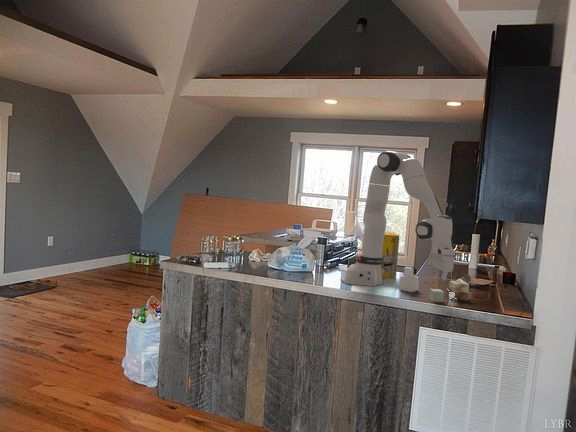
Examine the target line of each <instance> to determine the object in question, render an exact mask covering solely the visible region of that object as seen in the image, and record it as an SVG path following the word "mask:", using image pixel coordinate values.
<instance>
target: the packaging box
mask: <svg viewBox="0 0 576 432" xmlns="http://www.w3.org/2000/svg"><path fill="white" fill-rule="evenodd" d="M399 246H400V235H399V234H397V233H396V232H390V231H385V236H384V241H383V251H382V257H383V264H382V268H381V271H382V279H387V280H388V279H389V280H391V279H392V280H396V279H397V273H398V272H397V271H398V270H397V269H398V257H399Z"/></svg>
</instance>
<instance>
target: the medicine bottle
mask: <svg viewBox="0 0 576 432" xmlns="http://www.w3.org/2000/svg"><path fill="white" fill-rule="evenodd" d="M403 269H404V270H403V275H401V276H400V278H399V289H398V290H400V291H404V292H408V293H414V292H418V290H419V284H420V283H419V280H420V277H419V276H417V268H416V267H414V266H405V267H404V268H403Z"/></svg>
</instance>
